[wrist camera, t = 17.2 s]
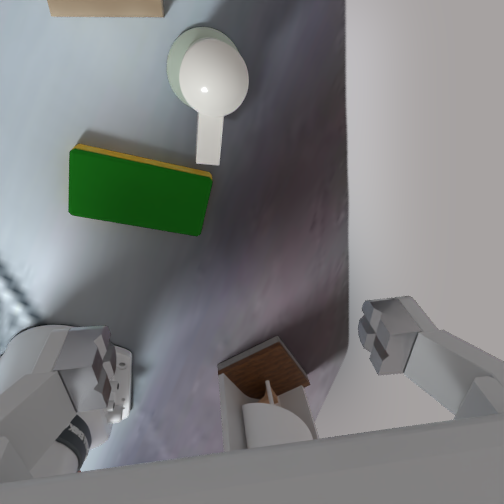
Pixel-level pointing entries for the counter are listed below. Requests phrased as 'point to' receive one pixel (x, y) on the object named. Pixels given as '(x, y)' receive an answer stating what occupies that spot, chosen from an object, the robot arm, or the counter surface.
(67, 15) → the square wooden frame
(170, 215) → the dish sponge
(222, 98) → the jug
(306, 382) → the spiral staircase model
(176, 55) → the trivet
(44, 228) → the counter surface
